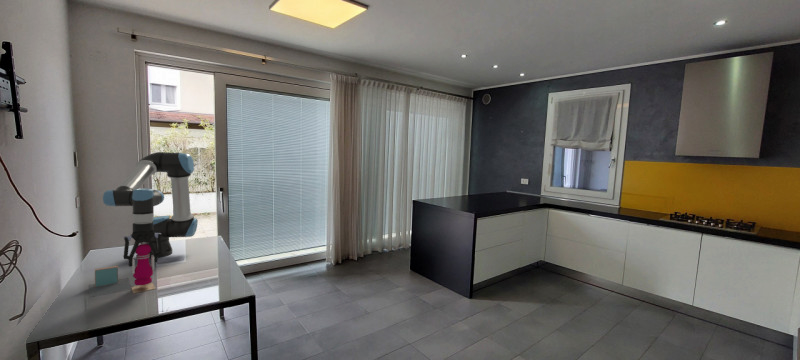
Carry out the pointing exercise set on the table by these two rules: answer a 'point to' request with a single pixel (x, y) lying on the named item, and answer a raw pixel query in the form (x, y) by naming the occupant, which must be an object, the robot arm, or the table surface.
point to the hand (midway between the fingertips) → (143, 271)
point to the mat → (109, 288)
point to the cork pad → (142, 288)
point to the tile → (106, 276)
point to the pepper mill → (143, 265)
